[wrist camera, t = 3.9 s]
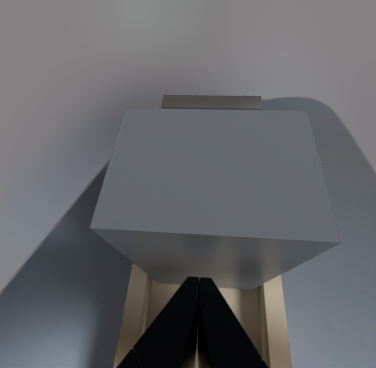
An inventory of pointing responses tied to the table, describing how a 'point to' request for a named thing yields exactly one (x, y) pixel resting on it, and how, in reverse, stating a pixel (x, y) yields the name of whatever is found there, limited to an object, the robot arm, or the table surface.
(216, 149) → the grey rectangular box
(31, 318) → the table surface
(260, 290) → the sleeve track
